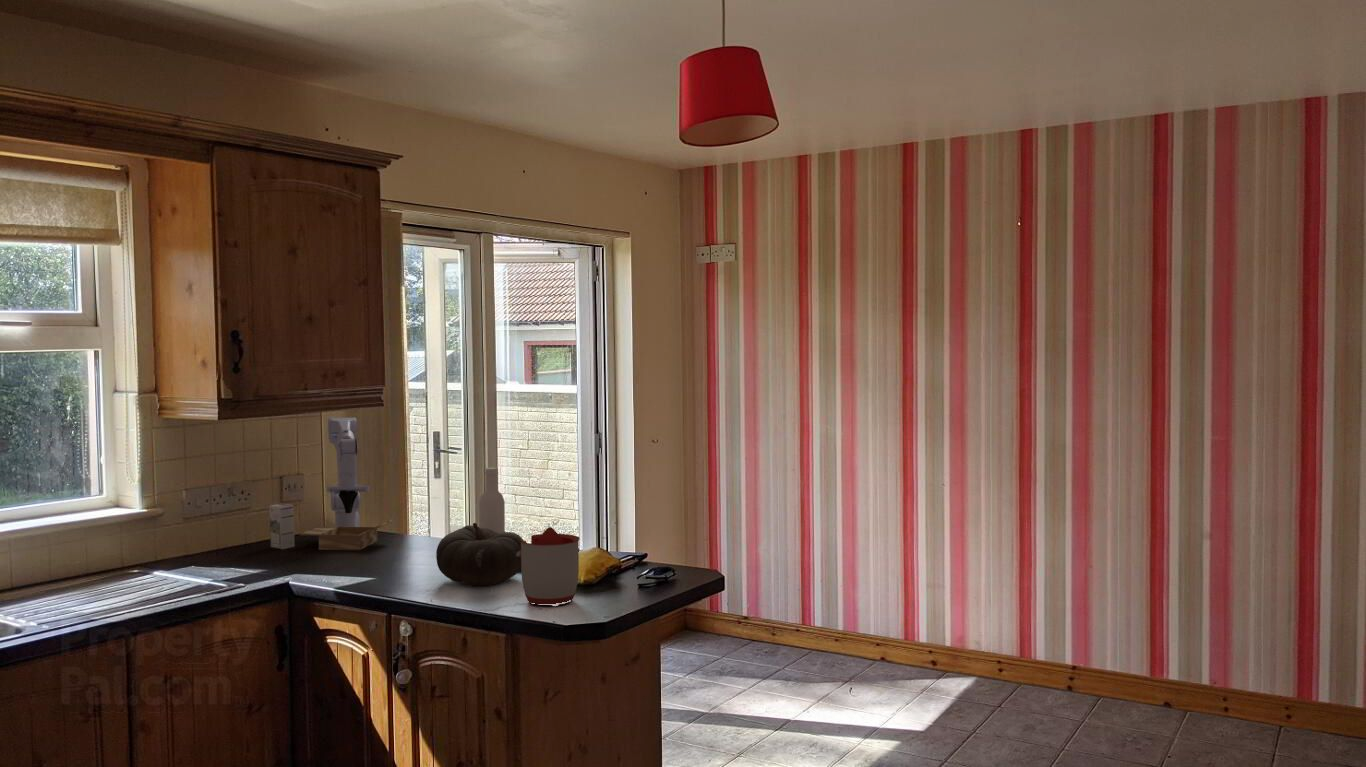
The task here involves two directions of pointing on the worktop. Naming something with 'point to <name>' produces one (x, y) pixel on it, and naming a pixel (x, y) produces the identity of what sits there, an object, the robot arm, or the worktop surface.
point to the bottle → (492, 504)
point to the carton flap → (377, 527)
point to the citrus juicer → (550, 567)
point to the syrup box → (282, 526)
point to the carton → (343, 537)
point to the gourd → (479, 555)
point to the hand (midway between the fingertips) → (348, 512)
